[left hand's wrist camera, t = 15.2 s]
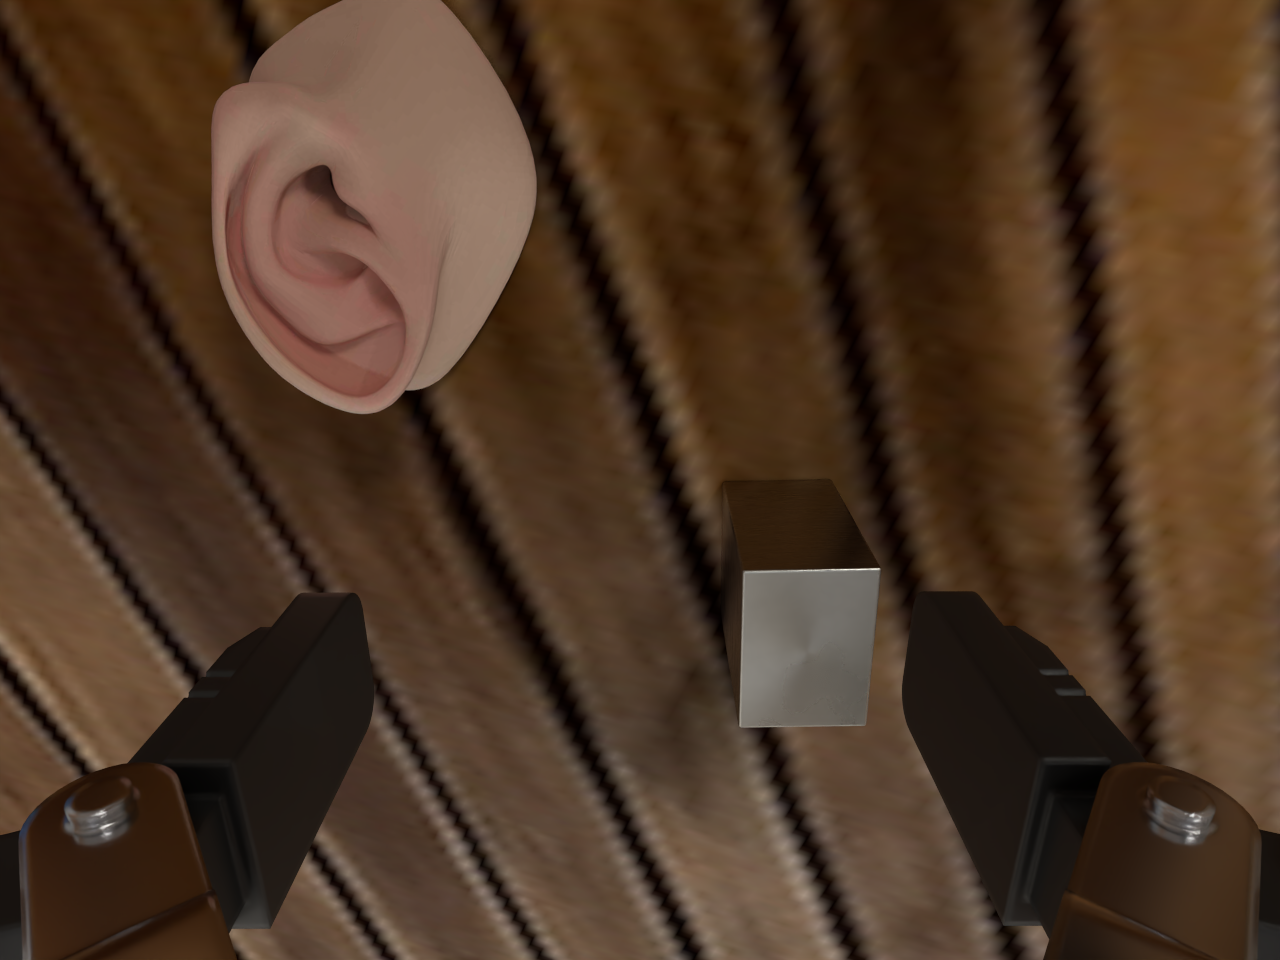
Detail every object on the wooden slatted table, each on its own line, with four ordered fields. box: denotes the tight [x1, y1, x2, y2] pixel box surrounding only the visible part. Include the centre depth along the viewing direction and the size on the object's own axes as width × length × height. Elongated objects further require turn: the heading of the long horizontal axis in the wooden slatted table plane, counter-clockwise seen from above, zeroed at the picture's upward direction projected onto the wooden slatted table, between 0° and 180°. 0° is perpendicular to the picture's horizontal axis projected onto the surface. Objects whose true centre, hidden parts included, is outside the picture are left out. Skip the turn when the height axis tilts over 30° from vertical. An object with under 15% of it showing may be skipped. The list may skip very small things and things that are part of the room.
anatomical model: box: [211, 0, 537, 414], centre depth 27 cm, size 13×4×12 cm
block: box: [721, 480, 881, 727], centre depth 31 cm, size 5×6×8 cm
